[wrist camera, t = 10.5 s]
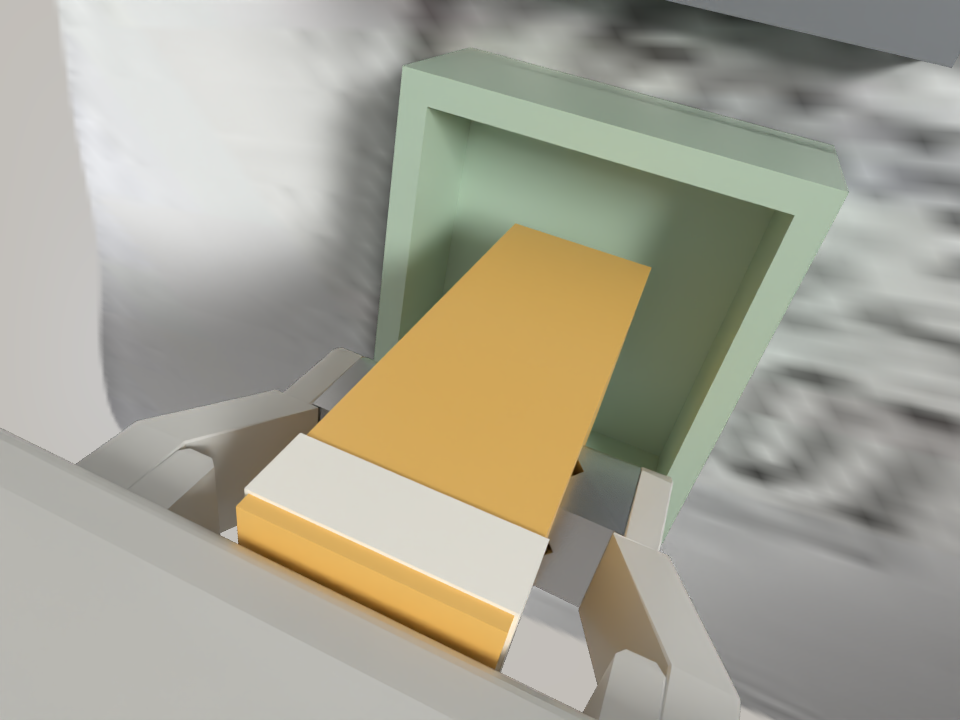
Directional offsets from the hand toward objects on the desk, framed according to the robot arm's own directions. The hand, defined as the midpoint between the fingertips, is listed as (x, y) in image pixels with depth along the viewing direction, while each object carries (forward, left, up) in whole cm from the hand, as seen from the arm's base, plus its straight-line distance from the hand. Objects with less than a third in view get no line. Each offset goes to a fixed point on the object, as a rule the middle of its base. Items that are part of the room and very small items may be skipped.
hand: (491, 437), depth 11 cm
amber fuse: (0, 0, -4) cm, 4 cm away
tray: (0, 0, -7) cm, 7 cm away
